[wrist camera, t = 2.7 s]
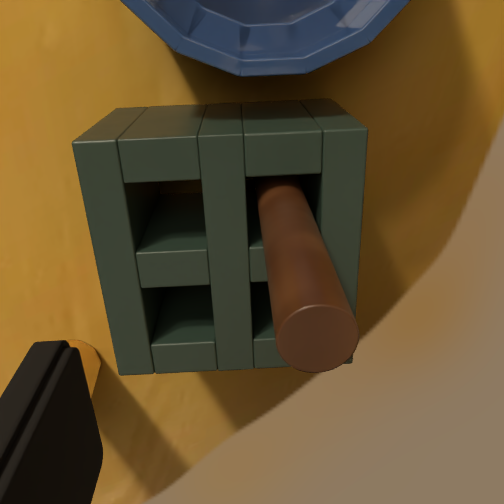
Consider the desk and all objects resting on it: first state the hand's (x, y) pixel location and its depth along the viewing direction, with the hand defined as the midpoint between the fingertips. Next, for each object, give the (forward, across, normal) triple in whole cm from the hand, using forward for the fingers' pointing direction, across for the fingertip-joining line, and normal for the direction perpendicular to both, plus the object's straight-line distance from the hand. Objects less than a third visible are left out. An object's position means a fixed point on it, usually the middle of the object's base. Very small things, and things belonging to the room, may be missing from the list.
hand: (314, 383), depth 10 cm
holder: (+16, +2, +2) cm, 17 cm away
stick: (+16, 0, 0) cm, 16 cm away
